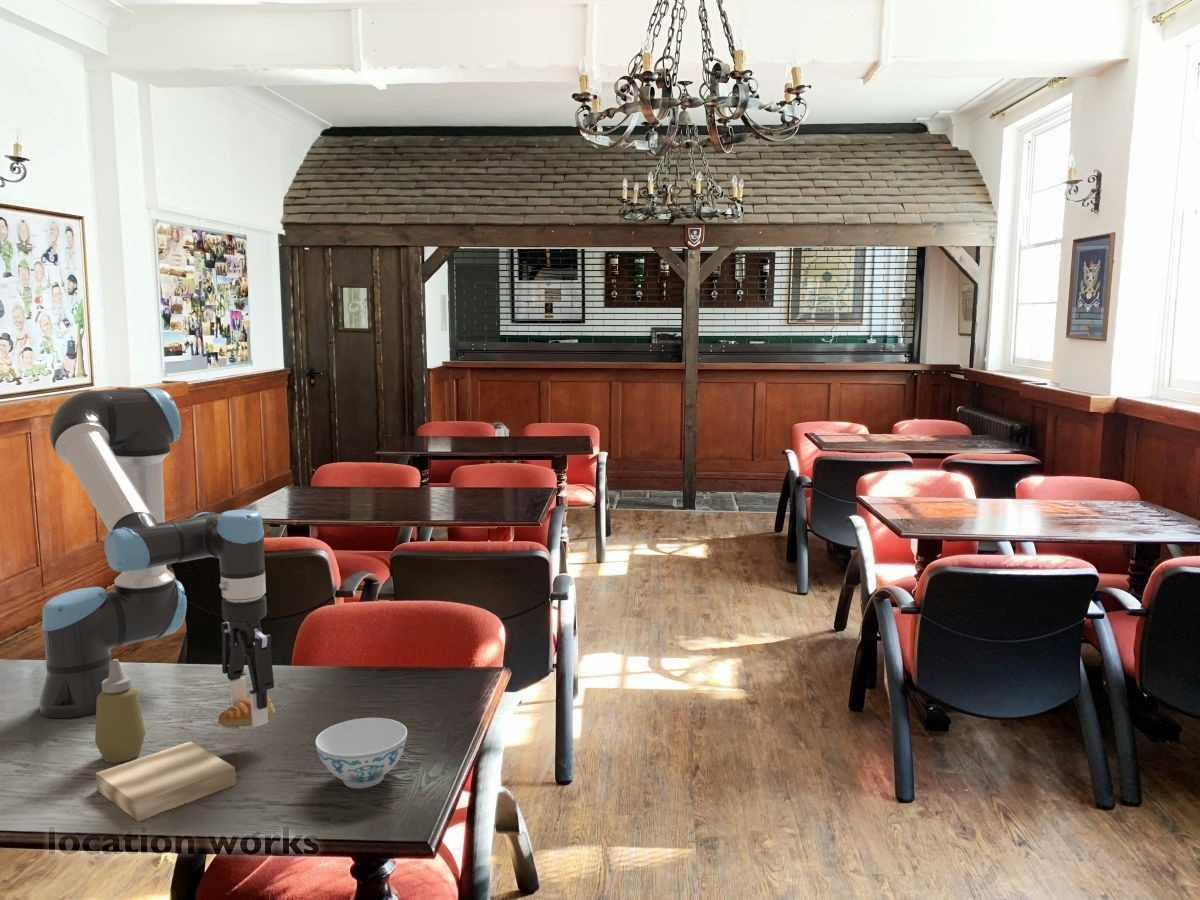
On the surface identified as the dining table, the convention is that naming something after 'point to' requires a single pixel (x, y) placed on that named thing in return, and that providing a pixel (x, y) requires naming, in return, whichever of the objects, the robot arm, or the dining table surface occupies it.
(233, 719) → the pastry
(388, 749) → the chinaware
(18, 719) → the dining table surface
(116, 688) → the squeeze bottle
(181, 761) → the serving board
